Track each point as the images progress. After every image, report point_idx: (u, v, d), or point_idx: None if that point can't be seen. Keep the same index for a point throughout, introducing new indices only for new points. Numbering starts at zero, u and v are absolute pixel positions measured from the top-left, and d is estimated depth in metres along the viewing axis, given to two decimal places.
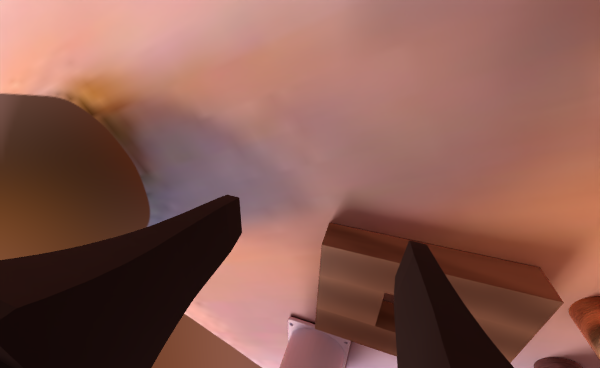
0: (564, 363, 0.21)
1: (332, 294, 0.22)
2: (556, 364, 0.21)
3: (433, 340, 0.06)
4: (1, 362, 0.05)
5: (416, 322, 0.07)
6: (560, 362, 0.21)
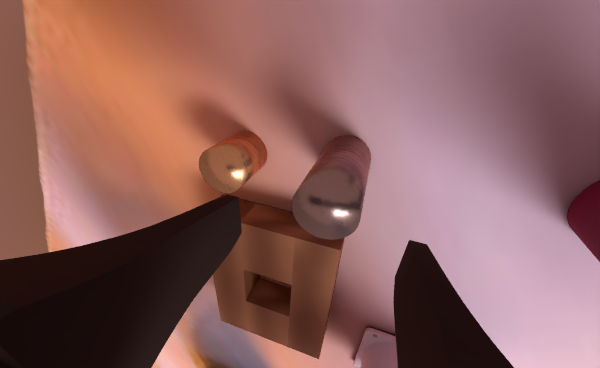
0: None
1: (264, 331, 0.27)
2: None
3: (433, 340, 0.06)
4: (1, 362, 0.05)
5: (416, 322, 0.07)
6: None
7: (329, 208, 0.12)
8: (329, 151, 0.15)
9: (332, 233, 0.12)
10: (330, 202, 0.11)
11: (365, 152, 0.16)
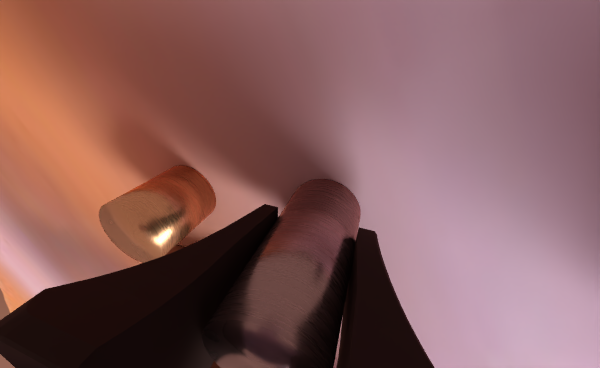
0: None
1: None
2: None
3: (352, 313, 0.06)
4: None
5: (350, 302, 0.07)
6: None
7: (268, 364, 0.06)
8: (289, 217, 0.09)
9: None
10: (267, 357, 0.06)
11: (350, 211, 0.10)
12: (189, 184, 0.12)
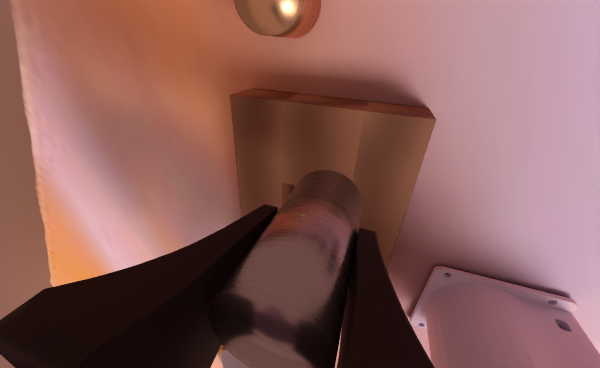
0: None
1: None
2: None
3: (353, 313, 0.06)
4: None
5: (350, 301, 0.07)
6: None
7: (275, 340, 0.06)
8: (297, 202, 0.09)
9: None
10: (277, 332, 0.06)
11: (355, 203, 0.10)
12: None
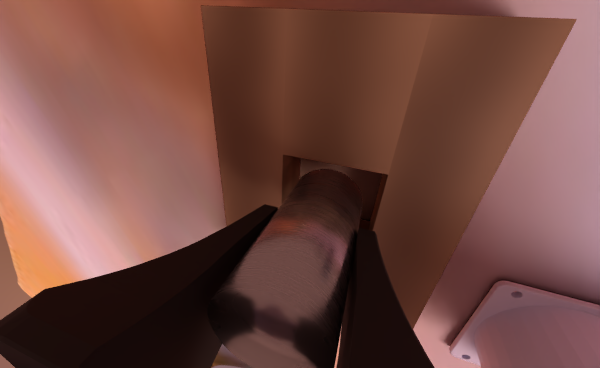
0: None
1: None
2: None
3: (352, 313, 0.06)
4: None
5: (350, 301, 0.07)
6: None
7: (275, 338, 0.06)
8: (298, 200, 0.09)
9: None
10: (277, 330, 0.06)
11: (355, 202, 0.10)
12: None
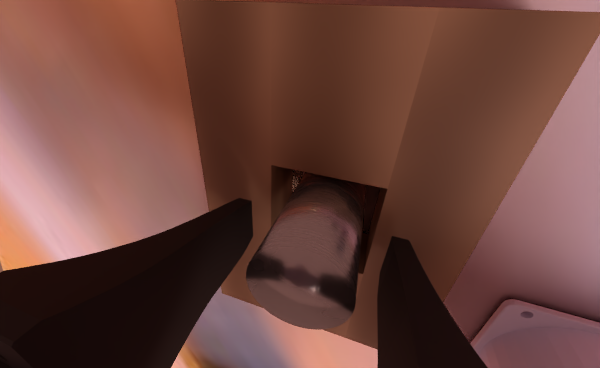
0: None
1: None
2: None
3: (405, 331, 0.06)
4: None
5: (393, 315, 0.07)
6: None
7: (305, 288, 0.07)
8: (312, 182, 0.10)
9: (306, 320, 0.08)
10: (307, 281, 0.07)
11: (361, 184, 0.11)
12: None
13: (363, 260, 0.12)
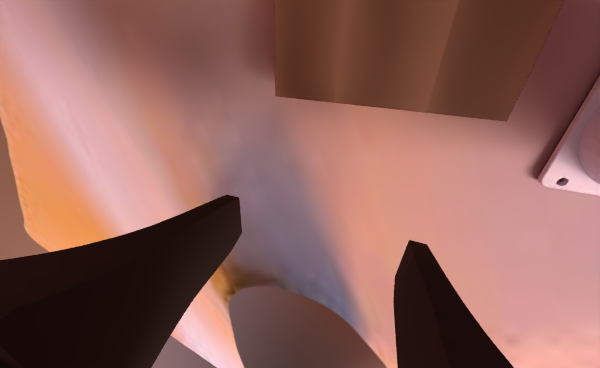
0: None
1: (376, 79, 0.13)
2: None
3: (433, 340, 0.06)
4: (1, 362, 0.05)
5: (416, 322, 0.07)
6: None
7: None
8: None
9: None
10: None
11: None
12: None
13: None
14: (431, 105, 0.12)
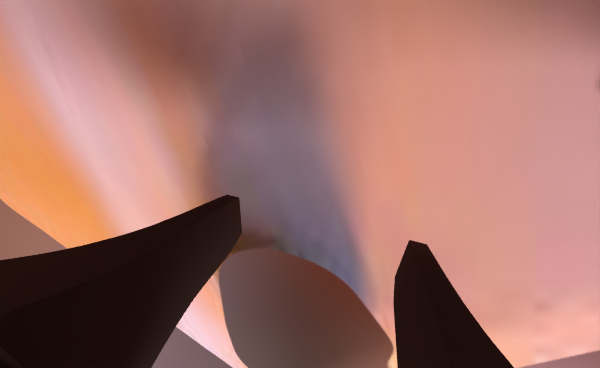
0: None
1: None
2: None
3: (433, 340, 0.06)
4: (1, 362, 0.05)
5: (416, 322, 0.07)
6: None
7: None
8: None
9: None
10: None
11: None
12: None
13: None
14: None
